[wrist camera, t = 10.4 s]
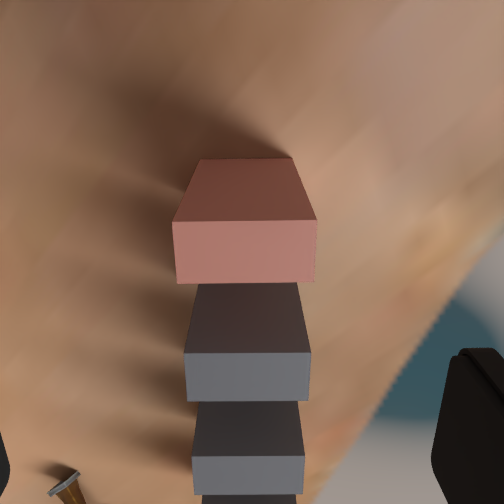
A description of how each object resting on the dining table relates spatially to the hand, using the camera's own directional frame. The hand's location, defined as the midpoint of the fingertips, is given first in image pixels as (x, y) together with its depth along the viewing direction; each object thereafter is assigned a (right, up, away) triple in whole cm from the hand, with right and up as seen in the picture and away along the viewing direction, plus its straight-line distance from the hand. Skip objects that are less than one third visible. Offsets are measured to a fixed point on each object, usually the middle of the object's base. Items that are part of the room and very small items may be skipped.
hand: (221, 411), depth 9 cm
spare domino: (0, +7, +16) cm, 18 cm away
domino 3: (0, -3, +21) cm, 21 cm away
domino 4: (0, +2, +18) cm, 18 cm away
